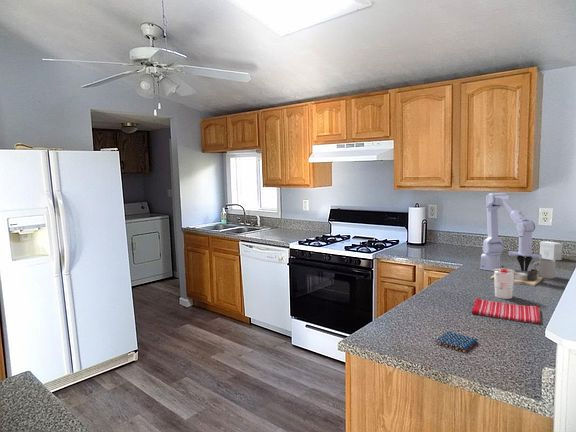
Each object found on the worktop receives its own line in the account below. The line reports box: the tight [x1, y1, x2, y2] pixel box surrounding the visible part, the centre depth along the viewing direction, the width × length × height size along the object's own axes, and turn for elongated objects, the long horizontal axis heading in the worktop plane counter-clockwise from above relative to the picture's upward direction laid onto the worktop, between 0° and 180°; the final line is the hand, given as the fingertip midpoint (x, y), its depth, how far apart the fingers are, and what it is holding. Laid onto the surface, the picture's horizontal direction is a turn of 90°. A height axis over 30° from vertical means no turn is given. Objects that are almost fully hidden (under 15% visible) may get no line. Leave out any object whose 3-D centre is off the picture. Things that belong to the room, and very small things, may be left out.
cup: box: [532, 258, 557, 280], centre depth 207 cm, size 7×10×9 cm
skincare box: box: [539, 240, 563, 261], centre depth 246 cm, size 10×6×10 cm, turn 14°
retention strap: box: [500, 266, 529, 273], centre depth 203 cm, size 16×3×2 cm, turn 45°
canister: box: [493, 268, 515, 300], centre depth 176 cm, size 10×8×12 cm
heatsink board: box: [489, 265, 544, 287], centre depth 203 cm, size 20×16×6 cm
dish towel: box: [471, 298, 541, 325], centre depth 157 cm, size 17×24×3 cm
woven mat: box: [434, 331, 479, 353], centre depth 131 cm, size 10×11×2 cm
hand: (524, 270), depth 201 cm, fingers closed, pressing on retention strap
